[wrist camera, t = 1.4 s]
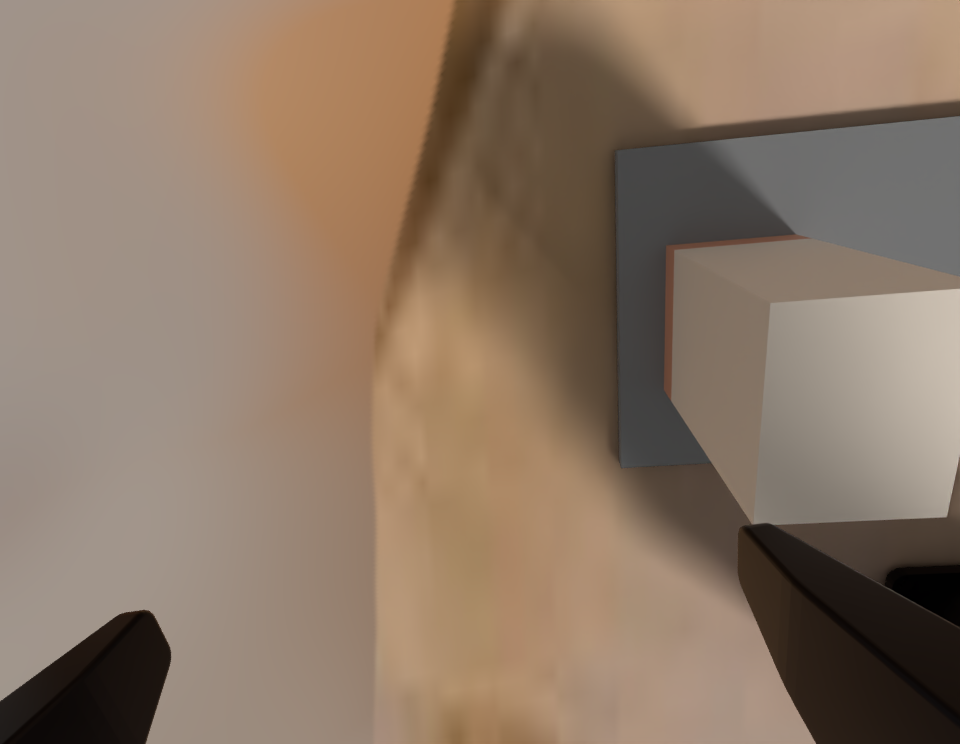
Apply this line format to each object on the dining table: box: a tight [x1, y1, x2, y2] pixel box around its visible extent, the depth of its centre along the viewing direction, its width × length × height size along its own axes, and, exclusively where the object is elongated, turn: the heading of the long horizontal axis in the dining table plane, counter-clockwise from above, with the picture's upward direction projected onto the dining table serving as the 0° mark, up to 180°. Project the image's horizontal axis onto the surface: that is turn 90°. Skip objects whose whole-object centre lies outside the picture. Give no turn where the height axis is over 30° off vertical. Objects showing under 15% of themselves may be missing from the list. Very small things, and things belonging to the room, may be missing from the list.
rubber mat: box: [615, 116, 960, 468], centre depth 19 cm, size 13×11×1 cm
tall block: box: [664, 234, 960, 525], centre depth 15 cm, size 4×5×8 cm
